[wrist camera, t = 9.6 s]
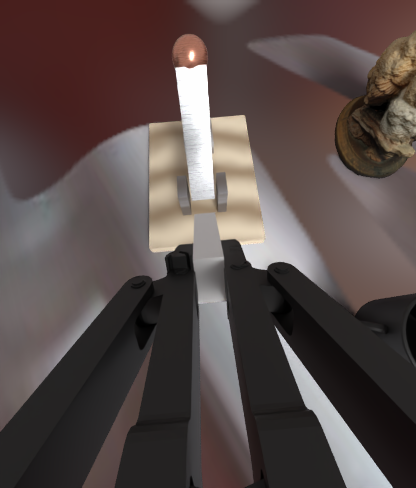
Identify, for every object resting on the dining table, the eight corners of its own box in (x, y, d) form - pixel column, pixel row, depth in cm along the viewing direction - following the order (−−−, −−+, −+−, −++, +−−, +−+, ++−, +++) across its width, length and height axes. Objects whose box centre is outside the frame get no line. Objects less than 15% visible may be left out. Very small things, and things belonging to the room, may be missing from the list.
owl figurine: (410, 191, 37) (562, 86, 20) (331, 179, 38) (414, 72, 22) (405, 103, 42) (521, -35, 26) (336, 95, 43) (405, -41, 27)
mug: (332, 287, 32) (373, 273, 24) (427, 309, 31) (508, 302, 22) (326, 362, 29) (371, 377, 21) (431, 389, 28) (525, 418, 19)
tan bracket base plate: (262, 242, 35) (274, 221, 28) (153, 252, 35) (136, 234, 28) (243, 124, 42) (248, 83, 35) (152, 132, 42) (139, 94, 35)
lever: (217, 199, 31) (207, 28, 22) (189, 201, 31) (167, 32, 22) (215, 189, 34) (205, 35, 25) (190, 191, 34) (171, 39, 25)
